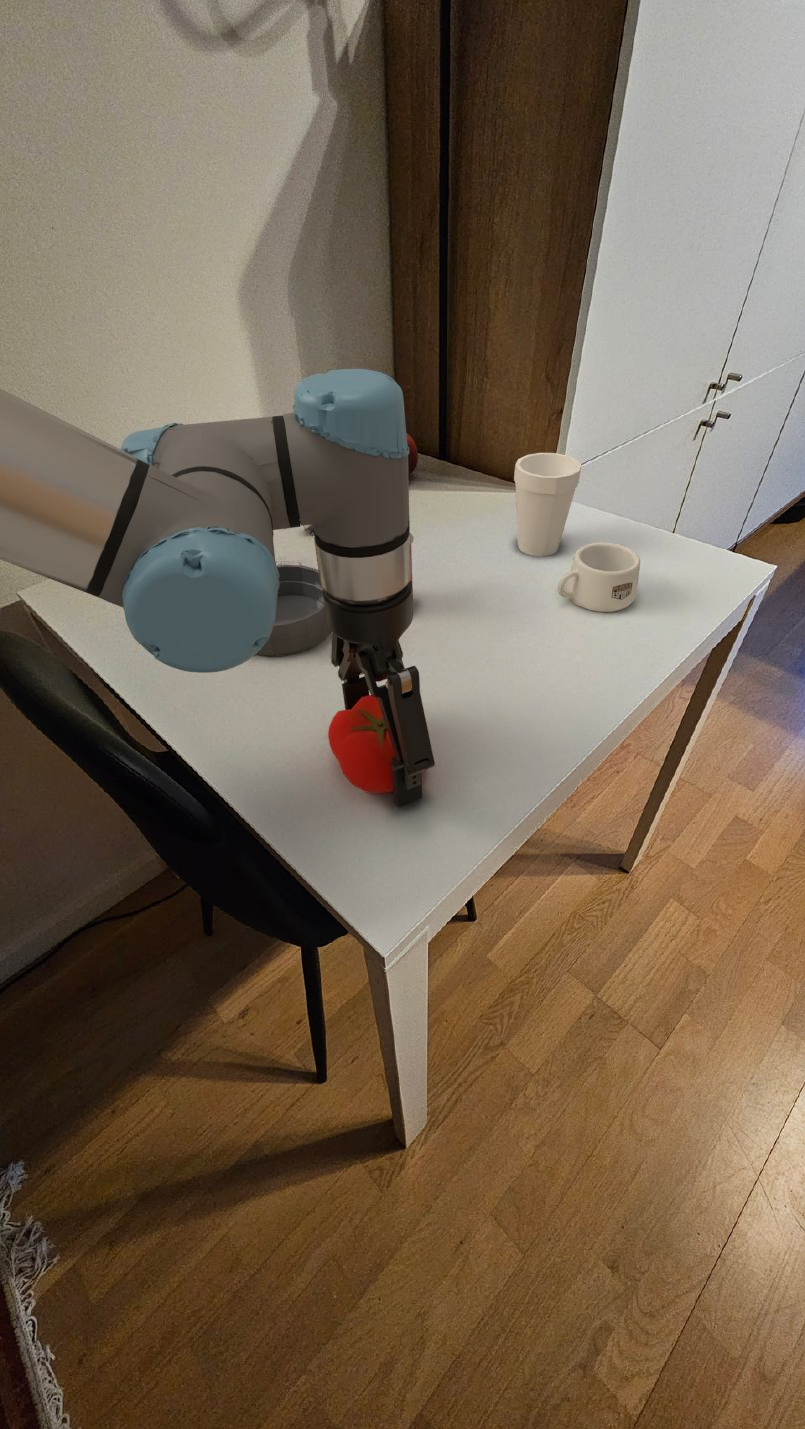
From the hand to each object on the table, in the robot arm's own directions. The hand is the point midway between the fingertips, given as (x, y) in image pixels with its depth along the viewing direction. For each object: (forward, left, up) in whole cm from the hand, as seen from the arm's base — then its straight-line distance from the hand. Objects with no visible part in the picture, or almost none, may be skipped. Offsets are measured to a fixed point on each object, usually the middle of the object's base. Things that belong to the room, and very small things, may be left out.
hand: (382, 761), depth 67 cm
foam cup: (+42, +31, 0) cm, 52 cm away
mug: (+40, +15, 0) cm, 43 cm away
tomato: (0, 0, 0) cm, 0 cm away
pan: (-1, +30, 0) cm, 30 cm away
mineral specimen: (+16, +55, 0) cm, 57 cm away
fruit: (+33, +67, 0) cm, 75 cm away
